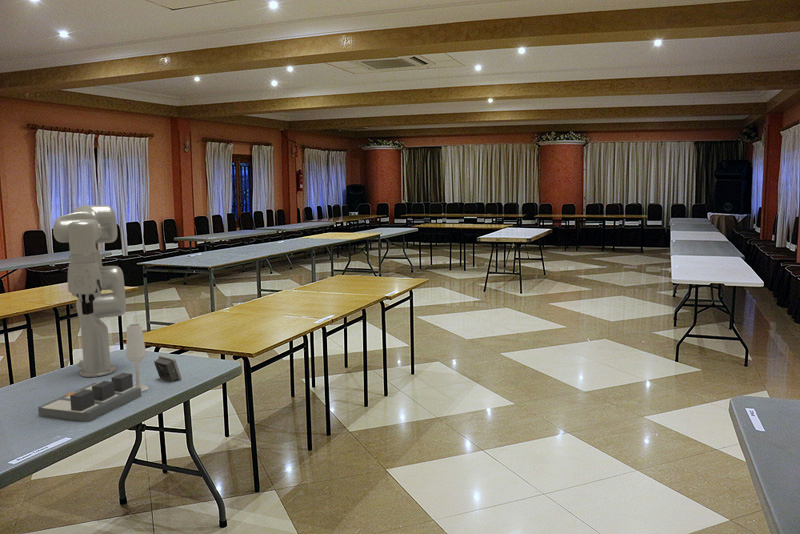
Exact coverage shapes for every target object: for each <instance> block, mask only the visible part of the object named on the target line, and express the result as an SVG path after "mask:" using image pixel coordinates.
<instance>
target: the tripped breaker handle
mask: <svg viewBox="0 0 800 534" xmlns="http://www.w3.org/2000/svg"><path fill="white" fill-rule="evenodd" d="M92 391H94V399H95V400H105V399H107V398H109V397H111V396H113V395H115V391H114V382H112V381H106V380H103V381H100V382H98V384H96V385H94V386H92Z"/></svg>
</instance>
